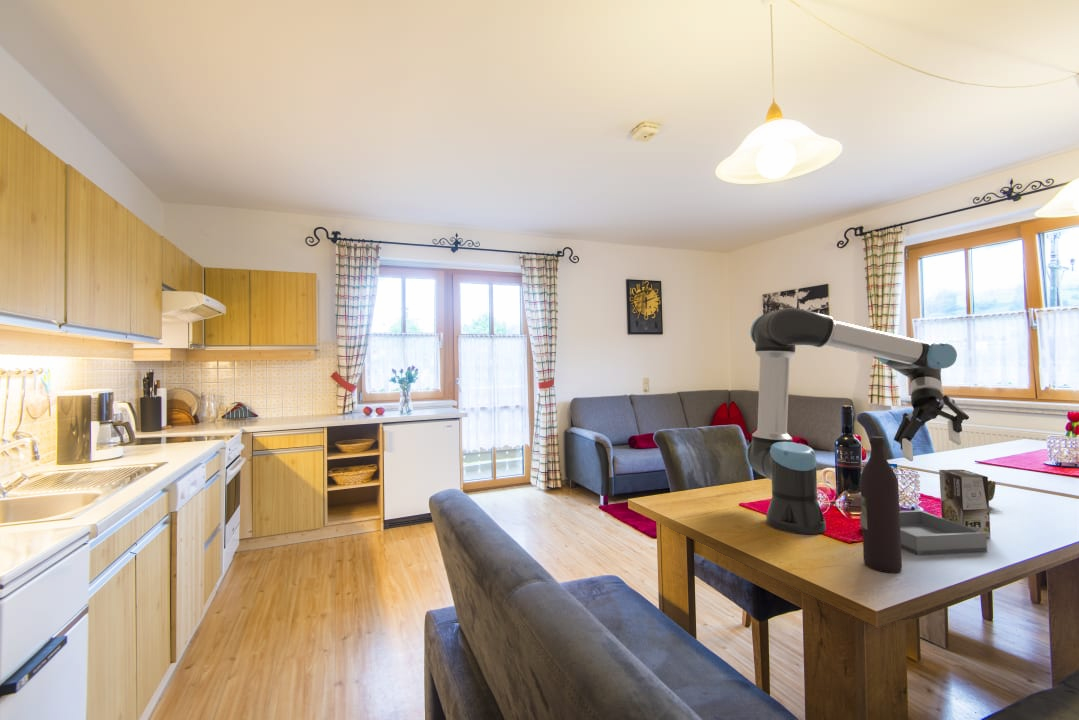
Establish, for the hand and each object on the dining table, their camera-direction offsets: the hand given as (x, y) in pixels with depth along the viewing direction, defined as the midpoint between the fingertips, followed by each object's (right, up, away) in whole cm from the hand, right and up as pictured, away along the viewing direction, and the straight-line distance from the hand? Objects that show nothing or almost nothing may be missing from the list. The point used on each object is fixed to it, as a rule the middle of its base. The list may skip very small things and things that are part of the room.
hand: (930, 450), depth 126 cm
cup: (+33, -22, +19) cm, 43 cm away
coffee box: (+7, -22, -3) cm, 23 cm away
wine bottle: (-31, -23, -22) cm, 44 cm away
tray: (-9, -22, -7) cm, 25 cm away
